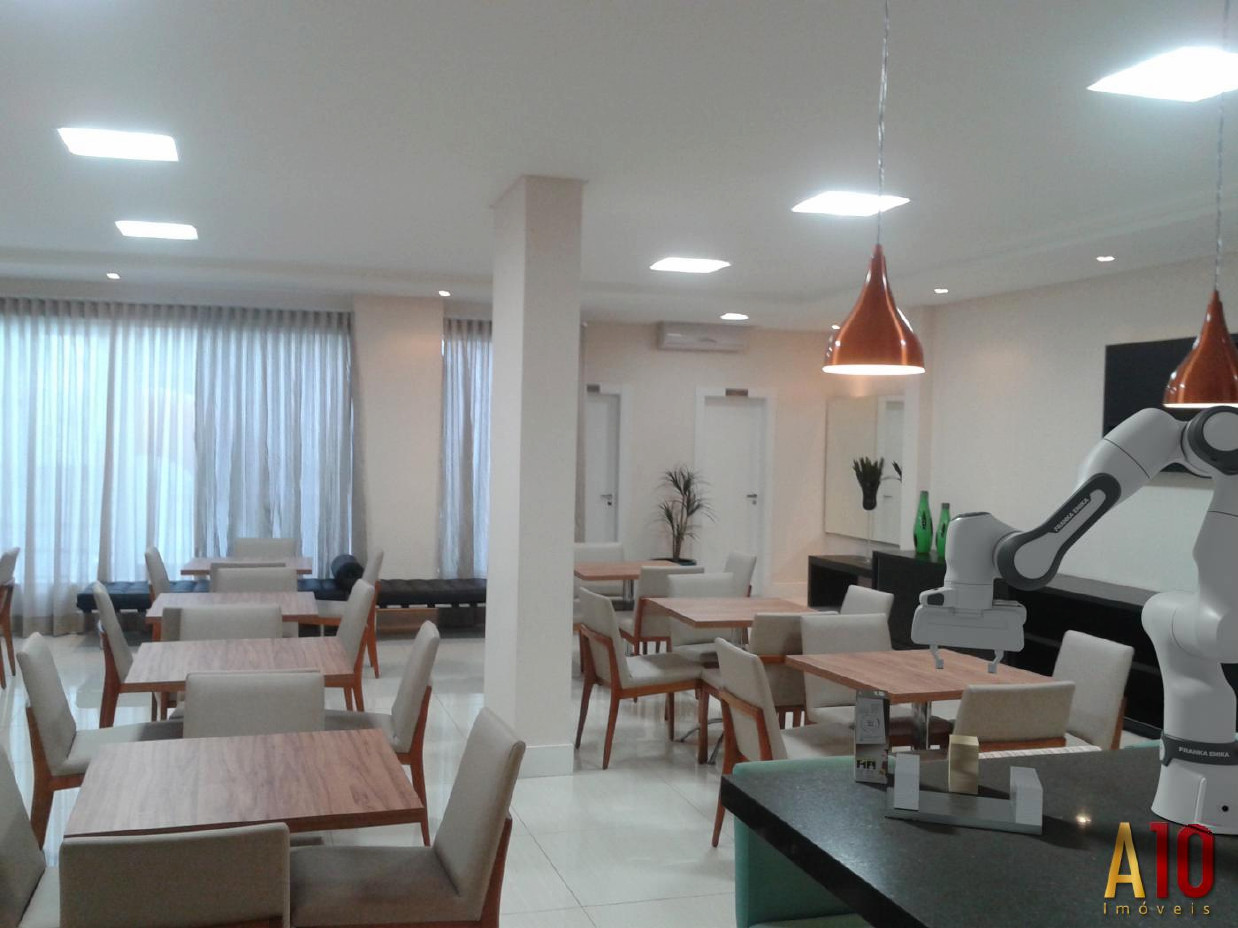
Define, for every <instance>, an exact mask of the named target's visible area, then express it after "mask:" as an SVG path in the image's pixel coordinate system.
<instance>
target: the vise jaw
mask: <svg viewBox="0 0 1238 928" xmlns="http://www.w3.org/2000/svg"><path fill="white" fill-rule="evenodd" d="M920 756H921V755H919V754H918V755H917V754H910V753H909V754H908V753H897V752H896V758H895V765H894V766H895V767H894V768H895V769H894V786H893V788H894V807H895V808H904V809H913V810H918V804H919V790H920V760H921V759H920Z"/></svg>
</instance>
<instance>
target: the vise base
mask: <svg viewBox="0 0 1238 928" xmlns="http://www.w3.org/2000/svg"><path fill="white" fill-rule="evenodd" d="M1009 775H1010V778H1009V799H1005V798H1004V799H1002V798H993V797H983V796H975V795H974V796H973V795H965V794H957V793H945V792H939V791H938V792H937V791H929V790H928V791H927V790H920V789H919V804H918V810H913V809H904V808H895V807H894V787H893V786H892V787H890V786H887V787H886V794H885V795H886V796H885V803H884V817H885V816H887V817H886V818H890V817H892V818H891V819H898V818H904V819H903V820H907V819H912V820H911V821H916V820H919V821H918V822H924V821H925V822H927V823H935V824H943V825H952V826H961V827H969V828H970V827H971V828H978V829H985V830H986V829H987V830H994V831H995V830H997V831H1004V832H1014V833H1020V834H1021V833H1022V834H1030V835H1039V836H1041V835H1042V832H1043V795H1044V788H1043V787H1042V786H1043V785H1042V784H1041V781H1040V778H1039V776H1038V773H1037V771H1036V768H1033V767H1024V766H1012V765H1010V774H1009ZM1042 836H1043V835H1042Z"/></svg>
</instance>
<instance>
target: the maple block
mask: <svg viewBox="0 0 1238 928" xmlns="http://www.w3.org/2000/svg"><path fill="white" fill-rule="evenodd" d="M948 746H949V749H948V777H947V779H948V791H949V792H951V793H960V794H969V795H978V791H979V760H980V758H979V757H980V756H979V754H980V744H979V740H978V736H971V735H962V734H961V735H960V734H950V733H949V745H948Z"/></svg>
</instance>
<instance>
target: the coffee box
mask: <svg viewBox="0 0 1238 928" xmlns="http://www.w3.org/2000/svg"><path fill="white" fill-rule="evenodd" d="M854 694H855V695H854V730H853V731H854V732H853V733H854V735H853V779H854V781H855V782H861V783H862V782H863V783H864V782H865V783H875V784H883V785H886V784H888V777H889V776H888V772H889V770H888V769H889V754H890V753H889V750H890V749H889V748H890V747H889V746H890V745H889V744H890V717H891V716H890V714H891V713H890V712H891V696H890V694H889V691H888V690H885V689H872V688H871V689H866V688H865V689H862V688H860V689H859V688H855V693H854Z"/></svg>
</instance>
